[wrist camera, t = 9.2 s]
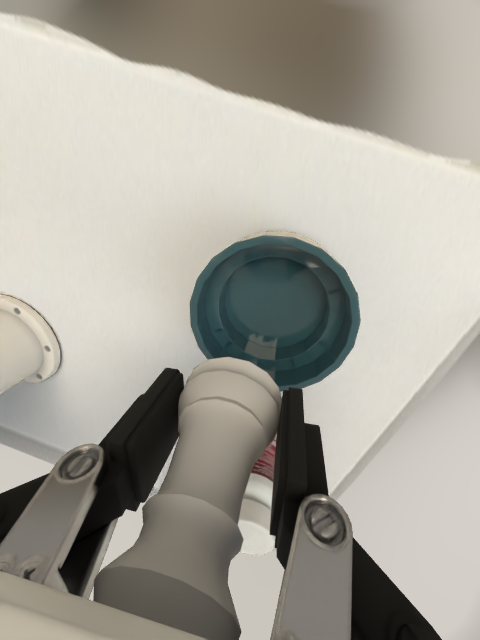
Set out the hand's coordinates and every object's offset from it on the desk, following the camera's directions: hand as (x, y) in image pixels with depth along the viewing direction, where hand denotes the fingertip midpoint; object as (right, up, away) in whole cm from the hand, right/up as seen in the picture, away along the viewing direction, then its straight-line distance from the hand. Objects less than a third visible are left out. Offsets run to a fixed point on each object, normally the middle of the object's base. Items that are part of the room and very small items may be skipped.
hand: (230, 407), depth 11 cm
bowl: (+4, +6, +14) cm, 15 cm away
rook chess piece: (0, 0, +1) cm, 1 cm away
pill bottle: (+3, -11, +21) cm, 24 cm away
